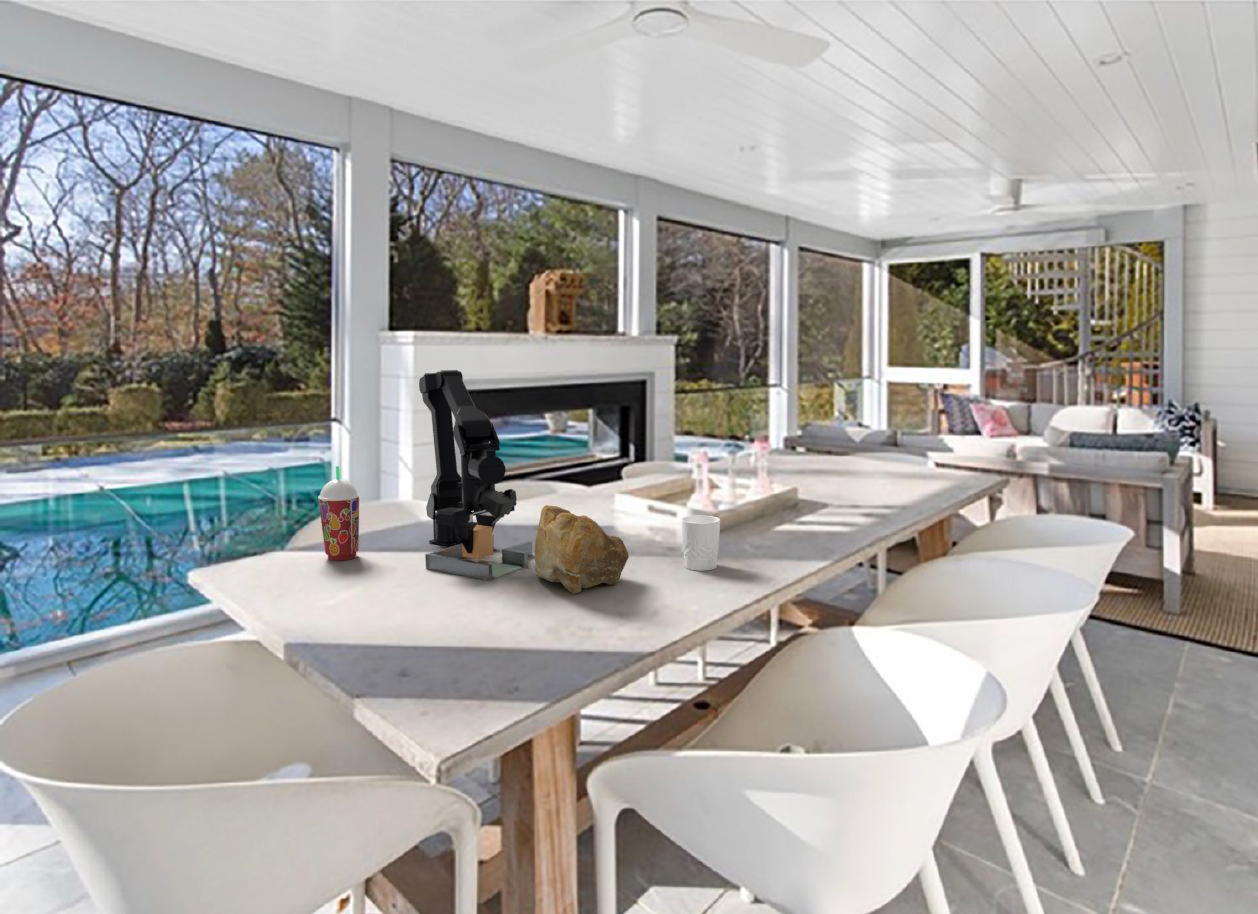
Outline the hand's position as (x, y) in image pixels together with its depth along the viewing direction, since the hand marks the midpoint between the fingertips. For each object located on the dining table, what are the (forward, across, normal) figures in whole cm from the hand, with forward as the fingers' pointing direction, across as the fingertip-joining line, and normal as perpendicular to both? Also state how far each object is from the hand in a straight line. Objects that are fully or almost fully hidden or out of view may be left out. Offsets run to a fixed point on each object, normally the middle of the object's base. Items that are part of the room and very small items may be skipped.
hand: (477, 550), depth 167 cm
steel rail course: (+3, +1, -2) cm, 4 cm away
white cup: (+3, +21, -42) cm, 47 cm away
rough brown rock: (+3, -1, -28) cm, 28 cm away
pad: (+3, -3, -7) cm, 8 cm away
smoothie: (+3, -12, +28) cm, 31 cm away
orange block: (+1, 0, 0) cm, 1 cm away
